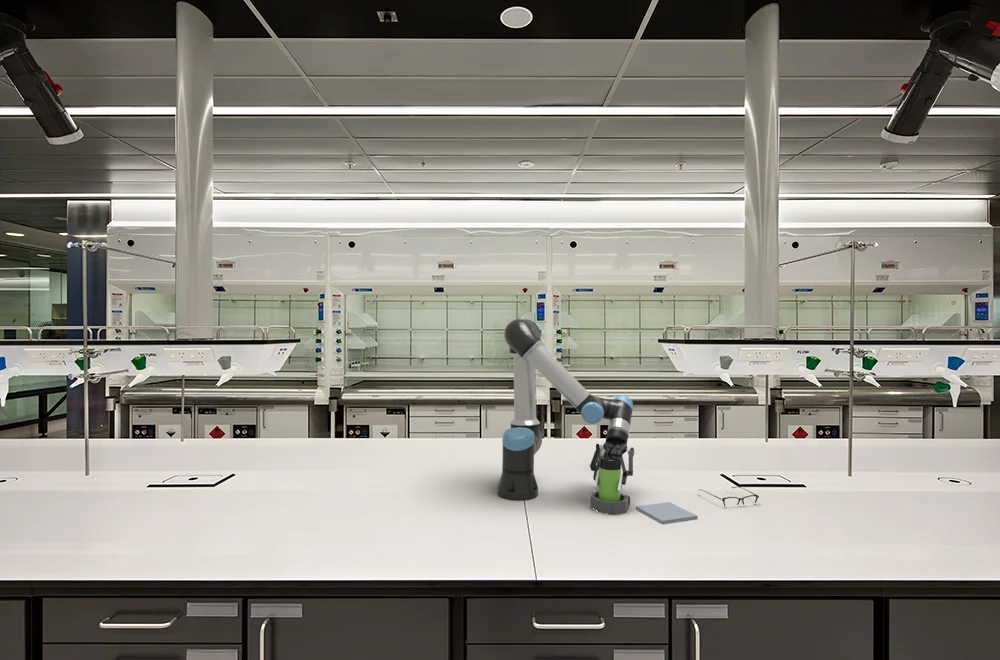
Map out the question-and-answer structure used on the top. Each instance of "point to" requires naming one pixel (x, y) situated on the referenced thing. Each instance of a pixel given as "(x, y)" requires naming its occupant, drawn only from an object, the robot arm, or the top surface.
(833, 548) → the top surface
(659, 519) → the pad
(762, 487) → the top surface
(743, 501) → the eyeglasses
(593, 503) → the strap ring
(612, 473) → the green bottle
